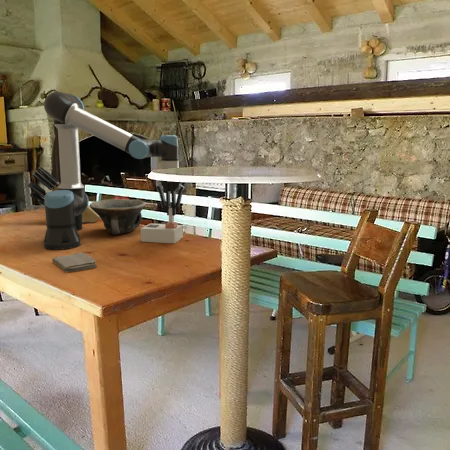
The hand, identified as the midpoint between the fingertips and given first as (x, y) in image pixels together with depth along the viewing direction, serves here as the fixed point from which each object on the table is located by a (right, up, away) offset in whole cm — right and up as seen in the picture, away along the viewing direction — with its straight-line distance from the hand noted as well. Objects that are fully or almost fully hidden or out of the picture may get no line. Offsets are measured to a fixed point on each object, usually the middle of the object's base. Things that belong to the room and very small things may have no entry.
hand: (171, 222), depth 204 cm
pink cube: (0, -5, +1) cm, 5 cm away
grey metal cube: (-9, -6, +3) cm, 11 cm away
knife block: (-63, 0, +42) cm, 75 cm away
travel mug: (-52, -4, +24) cm, 57 cm away
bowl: (-28, -5, +18) cm, 33 cm away
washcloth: (-31, -17, -38) cm, 52 cm away
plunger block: (-5, -8, +3) cm, 9 cm away
